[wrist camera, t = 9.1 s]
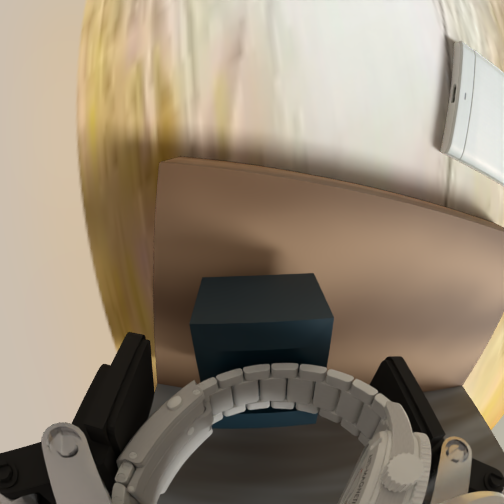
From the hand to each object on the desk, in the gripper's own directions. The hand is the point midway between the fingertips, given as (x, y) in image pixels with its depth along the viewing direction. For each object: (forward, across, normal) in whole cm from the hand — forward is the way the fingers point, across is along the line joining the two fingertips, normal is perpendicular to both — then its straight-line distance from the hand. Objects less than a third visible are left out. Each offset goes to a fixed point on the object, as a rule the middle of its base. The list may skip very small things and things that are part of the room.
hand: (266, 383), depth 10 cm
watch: (+3, 0, 0) cm, 3 cm away
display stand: (+8, -6, +1) cm, 10 cm away
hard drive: (+9, -16, -13) cm, 23 cm away
